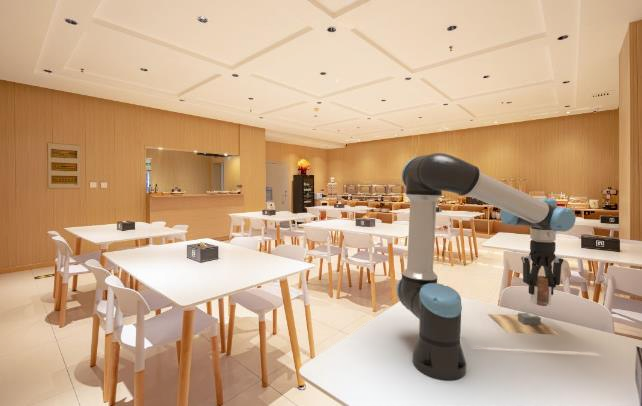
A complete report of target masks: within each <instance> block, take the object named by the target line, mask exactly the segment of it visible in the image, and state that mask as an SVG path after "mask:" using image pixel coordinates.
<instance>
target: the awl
mask: <svg viewBox="0 0 642 406" xmlns="http://www.w3.org/2000/svg"><path fill="white" fill-rule="evenodd" d="M535 286H537V287H538V288H537V304H535V305H536V306H541V307H546V306H548V304H547V296H548V278H547V277H546V276H544V275H538V277H537V280H536V284H535Z"/></svg>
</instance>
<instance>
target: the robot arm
mask: <svg viewBox="0 0 642 406" xmlns="http://www.w3.org/2000/svg"><path fill="white" fill-rule="evenodd" d="M401 181H402V183H403V184H404V186H405V196H406V197H407V198H408V200H409V217H408V218H409V219H408V238H407V239H408V240H407V243H408V244H407V262H406V264H407V265H406V268H405V269H404V270H403V271H402V273H401V278H400V279H399V280H398V282H397V285H396V296H397V297H398V298H397V299H398V300H399V302H400V303H401V304H402V305H403V306H404V307H405V309H407V310H409V312H411V313H412V314H413V315H414V316H415V317H416V318H417V319H418V320H419V321H418V322H419V326H418V329H419V331H418V332H419V333H418V339H417V341H416V344H415V346H414V348H413V352H412V363H413V365H414V367H415V368H416V369H417V370H418V371H419V372H421V373H422V374H425V375H426V376H428V377H431V378H434V379H438V380H444V381H454V380H459V379H461V378H463V377H464V376H465V375H466V371H467V362H466V358H465V355H464V352H463V349H462V346H461V331H462V330H461V329H462V328H461V327H462V325H461V323H462V311H463V310H462V309H463V307H462V306H463V305H462V298H461V295H460V294H459V292H458V291H457V290H455V289H454V288H452V287H450V285H444V284H441V283H438V275H437V274H436V273H435V272H434V259H435V257H434V256H435V239H436V237H435V236H436V219H437V218H436V217H437V202H438V200H439V199H440V198H442V194H443V192H450V193H454V194H456V195H459V196H461V197H465V196H470V197H471V198H474V199H475V200H479V201H481V202H484V203H485V204H488V205H490V206H493V207H494V208H497V209H500V211H499V219H500V221H501V222H502V223H503V224H504V225H506V226H522V227H528V228H530V235H529V236H530V239H531V240H530V241H529V249H530V250H529V251H530V252H529V254H528V255H526V256H521V258H520V259H521V262H522V282H523V283H524V284H526V285H528V294H529V295H530V297H529V298H530V300H529V301H530V303H532V304H534V305H536V304H537V288H538V287H537V286H535V284H536V280H537V277H538V276H539V272H540V270H541V268H542V267H543V269H544V275H545V276H544V277H547V278H548V296H547V306H549V305H550V306H551V304H552V303H551V302H552V296H553V295H554V288H556V287H557V286H560V285H561V276H562V275H561V273H562V265H563V263H564V261H565V260H564V259H563V258H561V257H558V256H557V255H556V253H555V252H556V247H557V246H556V242H555V241H556V240H557V239H556V236H557V232H561V233H562V232H563V233H564V232H568V231H570V230H571V229H573V227H574V226H575V223H576V214H575V212H574V211H573V209H571V208H570V207H569V208H568V207H564V206H558V204H557V203H558V201H557V200H556V199H555V198H550V197H549V198H547V197H540V198H539V197H534V196H532V195H530V194H528V193H526V192H523V191H521V190H520V189H517V188H515V187H513V186H511V185H510V184H506V183H504V182H503V181H500V180H498V179H495V178H493V177H491V176H489V175H487V174H484V173H483V172H481V170H480V168H479V167H478V166H476V165H474V164H472V163H470V162H467V161H465V160H463V159H461V158H459V157H456V156H453V155H450V154H448V153H442V152H437V153H430V154H426V155H425V154H424V155H418V156H416V157H414V158H411V159H410V160H409V161H407V162H406V163H405V164H404V166H403V167H402V171H401ZM531 262H532V263H531ZM552 263H553V265H552Z"/></svg>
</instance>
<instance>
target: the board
mask: <svg viewBox="0 0 642 406" xmlns="http://www.w3.org/2000/svg"><path fill="white" fill-rule="evenodd" d="M487 315H488V316H489V318H491V319H492V320H493V321H494V322H495V323H496V324H497V325H498V326H499V327H500V328H501V329H503V330H504V331H505V332H506V333H510V334H511V333H514V334H528V335H529V334H532V335H533V334H534V335H552V336H553V335H555V336H557V335H558V336H560V334H559V333H558V332H557V331H555V330H554V329H552V328H550V326H548V325H547V324H545V323H544V322H542V321H540V326H539V325H523V324H522V323H521V322H520V321H518V314H496V313H495V314H493V313H487Z"/></svg>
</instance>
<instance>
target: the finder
mask: <svg viewBox="0 0 642 406" xmlns="http://www.w3.org/2000/svg"><path fill="white" fill-rule="evenodd" d="M517 315H518V321H520V322H521V323H522V324H523V325H539V326H540V321H541V317H540V316H538V315H537V314H536V313H529V312H527V313H526V312H525V313H524V312H518V313H517ZM541 322H542V321H541Z"/></svg>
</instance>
